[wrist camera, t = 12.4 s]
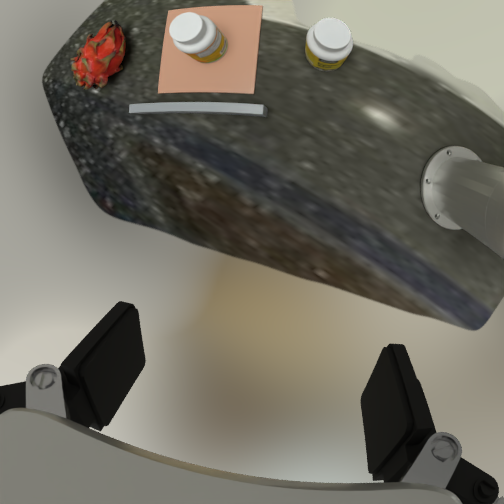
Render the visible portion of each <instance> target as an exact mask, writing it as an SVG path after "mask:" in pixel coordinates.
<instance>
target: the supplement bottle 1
mask: <svg viewBox="0 0 504 504" xmlns="http://www.w3.org/2000/svg"><path fill="white" fill-rule="evenodd" d="M169 33H170V35H171V37H172V38H173V42H174V44H175V46H176V47H177V48H178V49H179V50H180V51H182V52H183V53H185V54H187V55H188V56H190V57H191V58H193V59H195V60H196V61H198V62H201V63H213V62H216V61H218V60H219V59H221V58H222V57H223V56H224V54H225V53H226V51H227V48H228V42H227V39H226V37H225V36H224V34H223V33H222V32H221V31H220V30H219V28H218V27H217V26H216V25H215V24H214V23H213V21H212V20H210V19H209V18H208V17H205V16H202V15H198V14H196V13H193V12H186V13H182V14H180V15H178V16H177V17H176V18H175V19H174V20H173V21H172V22H171V24H170V27H169Z"/></svg>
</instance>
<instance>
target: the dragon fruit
mask: <svg viewBox="0 0 504 504" xmlns="http://www.w3.org/2000/svg"><path fill="white" fill-rule="evenodd" d="M114 22H115V25H113V24H112V21H111V22H108V23H106V24H105V25H104V26H103V27H102V28H101V30H100V31H99V32H98V34H97V35H96V36H95V37H92V35H93V34H89V35H88V37H87V43H86V45H85V46H84V48H79V50H78V51H77V55H78V57H75V58H71V60H73V61H75V63H73V64H72V67H71V70H72V71H74V75H73V76H74V79H75V82H76V85H78V86H80V87H82V86H85V87H84V88H83V89H84V90H85V89H89V88H91V87H92V86H93V87H94V88H95V89H97V88H98V87H99V86H100V87H101V88H103V87H104V86H105V85H107V81H108V77H109V76H111V75H112V74H114V73H116V72H119V71H121V70H122V69H123V67H122V65H120V64H121V62H122V61H123V57H124V55H125V52H126V37H124V35H123V32H122V28H121V26H120V25H119V24H118V23H117V21H114ZM116 26H117V27H116ZM111 27H112V28H111ZM119 65H120V66H119ZM94 83H95V84H96V85H93V84H94Z"/></svg>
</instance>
